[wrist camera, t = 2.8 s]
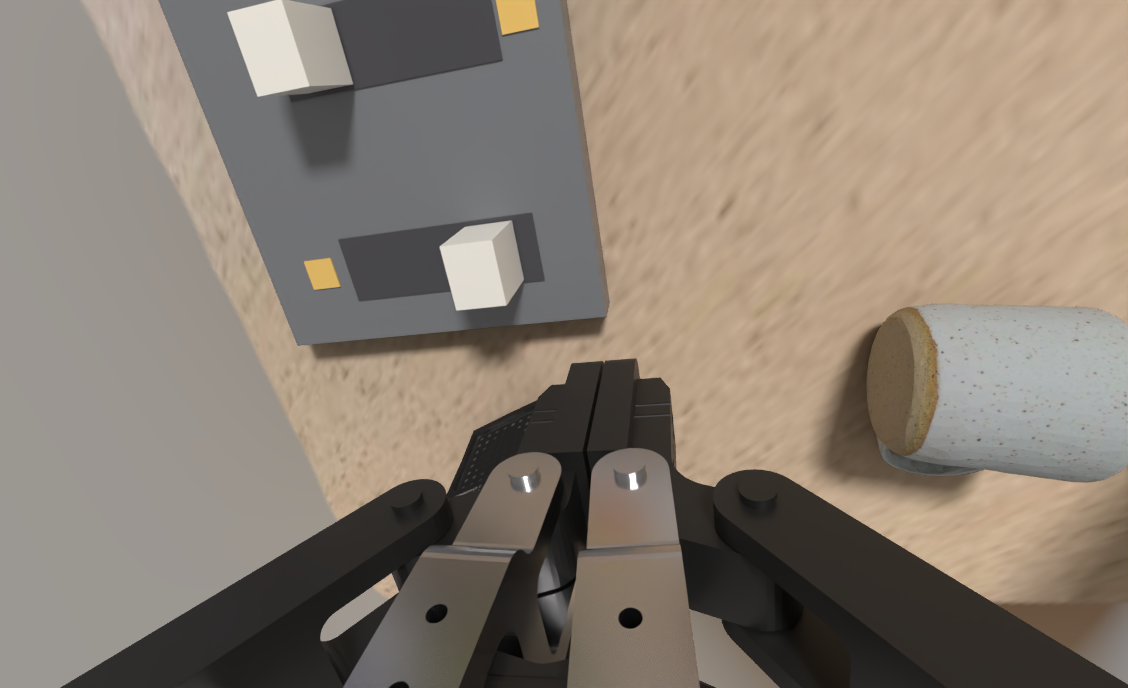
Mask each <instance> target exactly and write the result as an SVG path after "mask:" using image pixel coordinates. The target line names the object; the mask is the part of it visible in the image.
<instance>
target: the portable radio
mask: <svg viewBox="0 0 1128 688" xmlns="http://www.w3.org/2000/svg"><path fill="white" fill-rule="evenodd" d="M536 403H537V401H535V402H532V403H530V404H528V405H526V406H524V407H522V408H520V409H517V410H515V411H513V412H511V413H509V414H507V415H505V416H503V417H501V418H499V419H497V420H495V421H493V422H491V423H489V424H487V425H485V426H483V427H481V428H479V429H477V430H475V431H473V434H472V436H471V439H470V442H469V444H468V447H467V449H466V452H465V454H464V457H463V459H462V462H461V464H460V466H459V468H458V471H457V473H456V475H455V477H454V480H453V482H452V484H451V486H450V489H449V491H448V493H447V497H448V498H451V497H455V496H459V495H463V494H467V493H471V492H475V491H478V490H481V489H483V487H484V485H485V483H486V481H487V479H488V477H489V475H490V474H491V472H492V471H493V470H494V468H495V467H496V466H498V465H499V464H500V463H501V462H503V461H505V460H506V459H508V458H510V457H513V456H515V455H517V452H518V450H519V447H520V444H521V442H522V439H523V437H524V434H525V431H526V429H527V426H528V424H530V418H531V416H532V413H534V408H535V405H536ZM570 645H571V637H570V642H569V646H568V650H567V654H566V658H565V659H569V658H570Z"/></svg>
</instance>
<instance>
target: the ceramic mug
mask: <svg viewBox="0 0 1128 688" xmlns="http://www.w3.org/2000/svg"><path fill="white" fill-rule="evenodd" d="M867 405H868V410H869V415H870V420H871V424H872V427H873V429H874V431H875V434H876V436H877V441H878V446H879V451H880V453H881V456H882V458H883V460H884V461H886V462H887V463H888V464H889V465H891V466H893V467H894V468H896V469H899V470H902V471H905V472H910V473H914V474H920V475H928V476H953V475H963V474H969V473H974V472H977V471H981V470H985V469H986V470H993V471H999V472H1004V473H1010V474H1019V475H1026V476H1033V477H1039V478H1047V479H1056V480H1063V481H1070V482H1095V481H1101V480H1105V479H1107V478H1108V477H1110V476H1113V475H1115V474H1116V473H1118V472H1120V471H1122V470H1123V469H1124V468H1125V467H1126V466H1127V465H1128V325H1127V324H1126V323H1125V322H1124V321H1122V320H1121V319H1119V318H1118V317H1117V316H1115V315H1112V314H1110V313H1108V312H1105V311H1103V310H1100V309H1096V308H1087V307H1050V306H997V305H960V304H929V305H923V306H914V307H907V308H903V309H900V310H898V311H896V312H895V313H893V314H892V315H891V316H889V317H888V318H887V319H886V321H885V322H884V323H883V324H882V326H881V327H880V328H879V330H878V332H877V334H876V337H875V339H874V342H873V344H872V348H871V353H870V357H869V362H868V370H867Z"/></svg>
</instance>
